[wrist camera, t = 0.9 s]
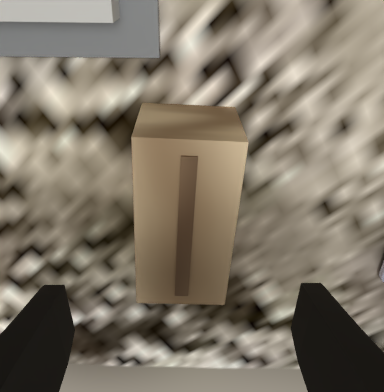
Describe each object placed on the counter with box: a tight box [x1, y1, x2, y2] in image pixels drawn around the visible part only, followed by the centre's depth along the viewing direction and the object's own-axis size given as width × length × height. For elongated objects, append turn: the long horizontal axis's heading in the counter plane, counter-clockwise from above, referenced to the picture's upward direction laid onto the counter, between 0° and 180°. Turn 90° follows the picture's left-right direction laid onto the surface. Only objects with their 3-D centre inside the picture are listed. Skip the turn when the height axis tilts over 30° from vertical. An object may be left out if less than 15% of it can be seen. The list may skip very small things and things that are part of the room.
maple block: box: [131, 103, 249, 305], centre depth 16 cm, size 4×8×4 cm, turn 177°
